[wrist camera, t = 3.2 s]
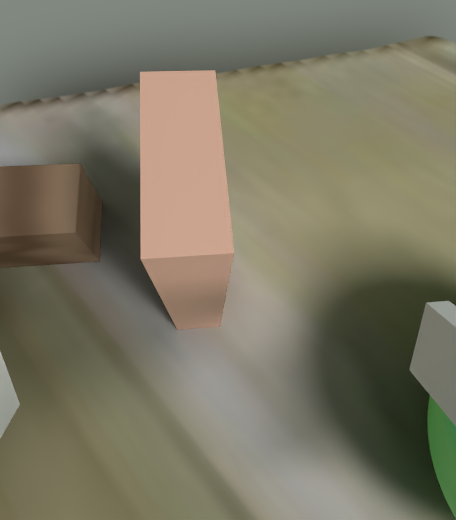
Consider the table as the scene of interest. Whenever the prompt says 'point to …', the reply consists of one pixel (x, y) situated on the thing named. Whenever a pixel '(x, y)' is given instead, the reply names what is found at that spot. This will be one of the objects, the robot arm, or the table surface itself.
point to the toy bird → (443, 451)
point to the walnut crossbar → (48, 216)
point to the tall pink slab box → (184, 196)
